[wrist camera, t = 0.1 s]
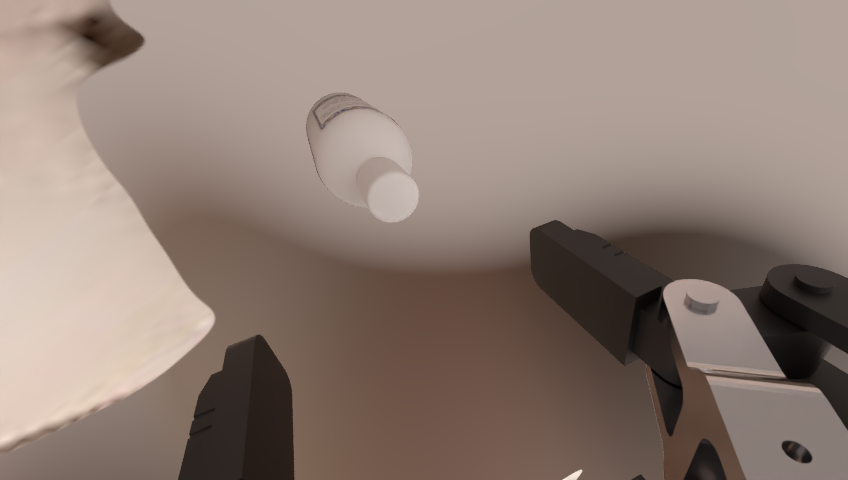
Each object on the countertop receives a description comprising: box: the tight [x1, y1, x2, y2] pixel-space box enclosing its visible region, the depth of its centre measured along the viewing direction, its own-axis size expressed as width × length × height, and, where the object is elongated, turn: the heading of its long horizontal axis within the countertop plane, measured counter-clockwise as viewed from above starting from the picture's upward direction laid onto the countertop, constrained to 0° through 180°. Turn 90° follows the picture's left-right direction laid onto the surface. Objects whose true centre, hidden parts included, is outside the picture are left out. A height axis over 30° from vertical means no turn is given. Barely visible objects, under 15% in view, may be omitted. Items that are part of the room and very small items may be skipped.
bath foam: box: [306, 93, 419, 223], centre depth 27 cm, size 7×7×20 cm
